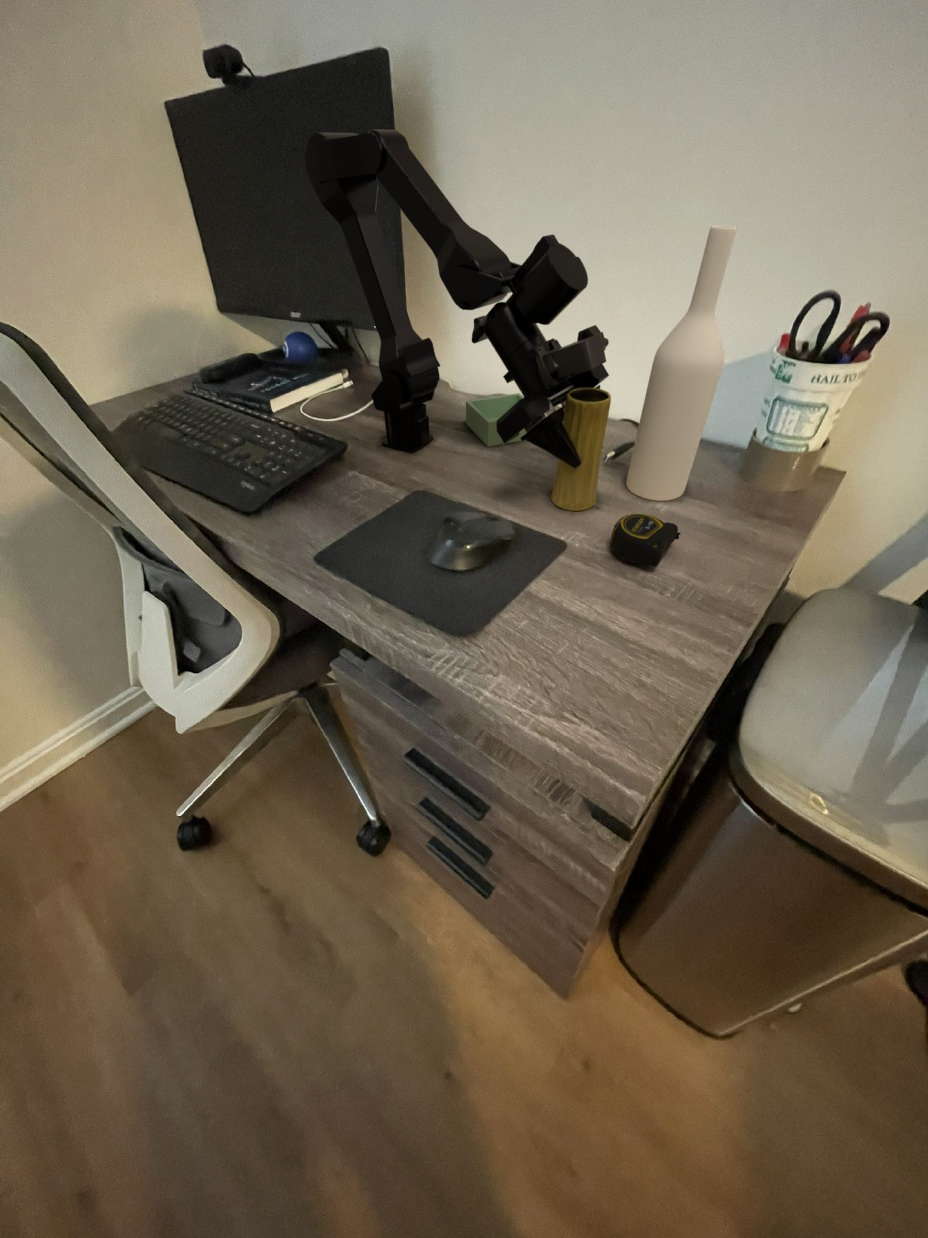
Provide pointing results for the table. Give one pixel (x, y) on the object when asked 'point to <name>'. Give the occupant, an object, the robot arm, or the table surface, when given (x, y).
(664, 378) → the bottle
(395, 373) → the robot arm
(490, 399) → the green open-top tray
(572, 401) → the vase
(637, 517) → the tape measure
